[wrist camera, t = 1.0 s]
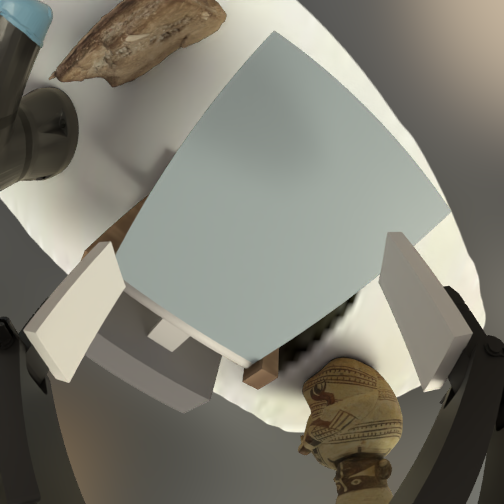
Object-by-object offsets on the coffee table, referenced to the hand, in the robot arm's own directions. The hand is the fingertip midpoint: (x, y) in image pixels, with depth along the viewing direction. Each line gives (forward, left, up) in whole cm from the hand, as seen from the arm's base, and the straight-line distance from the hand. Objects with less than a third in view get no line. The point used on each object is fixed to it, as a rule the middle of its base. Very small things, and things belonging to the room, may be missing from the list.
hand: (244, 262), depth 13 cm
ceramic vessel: (+42, -23, -26) cm, 54 cm away
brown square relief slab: (-19, +4, -26) cm, 33 cm away
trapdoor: (+2, -7, -11) cm, 13 cm away
